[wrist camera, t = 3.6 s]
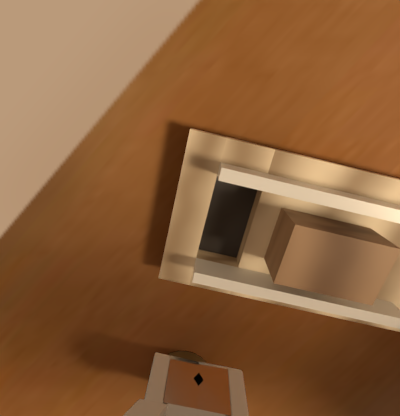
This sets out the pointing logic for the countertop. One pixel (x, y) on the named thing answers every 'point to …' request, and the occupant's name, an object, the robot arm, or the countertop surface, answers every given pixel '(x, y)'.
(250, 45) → the countertop surface
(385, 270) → the walnut block
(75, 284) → the countertop surface
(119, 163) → the countertop surface
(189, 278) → the board
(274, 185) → the channel walls
